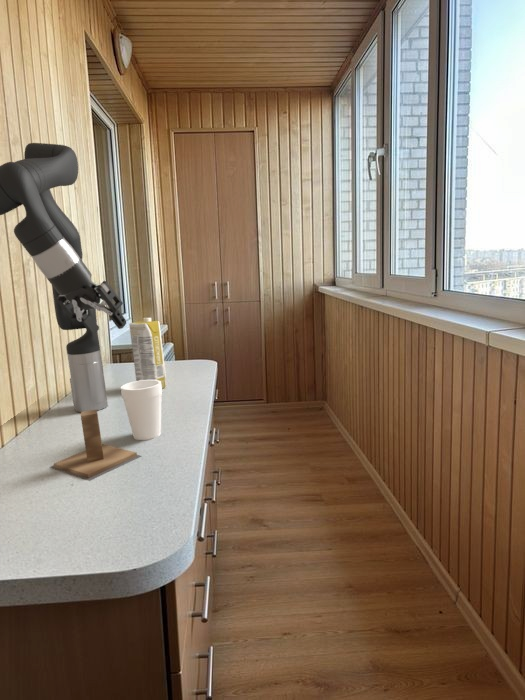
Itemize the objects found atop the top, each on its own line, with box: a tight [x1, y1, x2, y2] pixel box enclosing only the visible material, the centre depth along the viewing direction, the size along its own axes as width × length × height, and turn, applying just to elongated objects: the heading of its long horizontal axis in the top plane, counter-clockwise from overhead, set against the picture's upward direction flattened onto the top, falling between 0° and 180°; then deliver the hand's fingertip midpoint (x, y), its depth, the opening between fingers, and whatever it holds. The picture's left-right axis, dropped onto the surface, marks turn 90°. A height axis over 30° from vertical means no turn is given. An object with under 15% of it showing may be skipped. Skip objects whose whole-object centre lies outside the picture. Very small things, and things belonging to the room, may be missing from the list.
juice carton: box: [129, 317, 168, 390], centre depth 161 cm, size 9×8×24 cm
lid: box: [53, 410, 138, 478], centre depth 102 cm, size 12×12×11 cm
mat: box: [49, 454, 142, 482], centre depth 103 cm, size 14×13×1 cm
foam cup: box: [120, 380, 163, 441], centre depth 115 cm, size 10×9×13 cm
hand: (109, 328), depth 104 cm, fingers open, 8 cm apart
